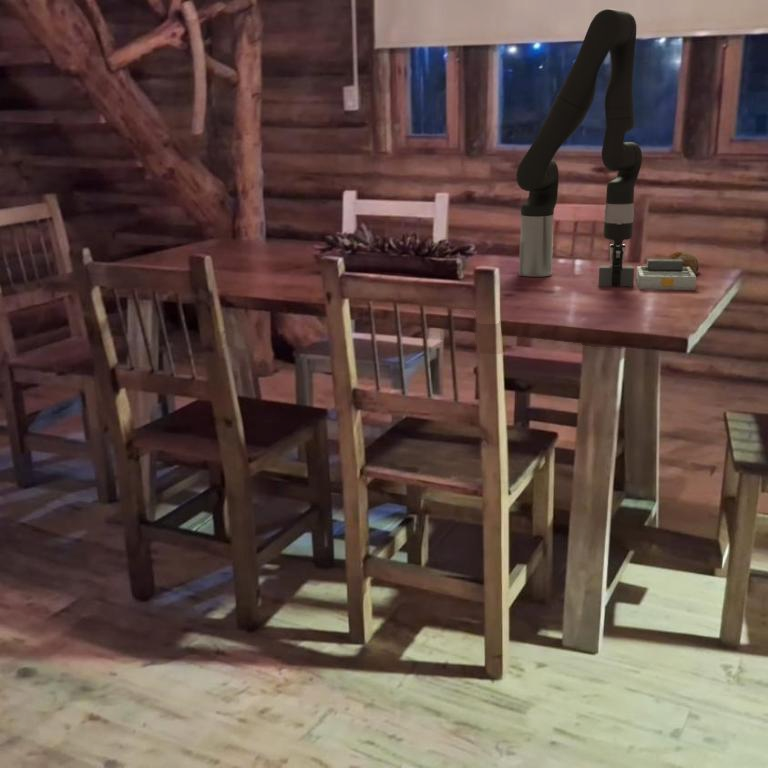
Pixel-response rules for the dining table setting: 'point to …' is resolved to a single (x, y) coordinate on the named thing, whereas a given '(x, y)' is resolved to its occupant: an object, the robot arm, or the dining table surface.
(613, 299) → the dining table surface
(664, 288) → the rack
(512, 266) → the dining table surface
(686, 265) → the bread roll
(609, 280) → the panel
